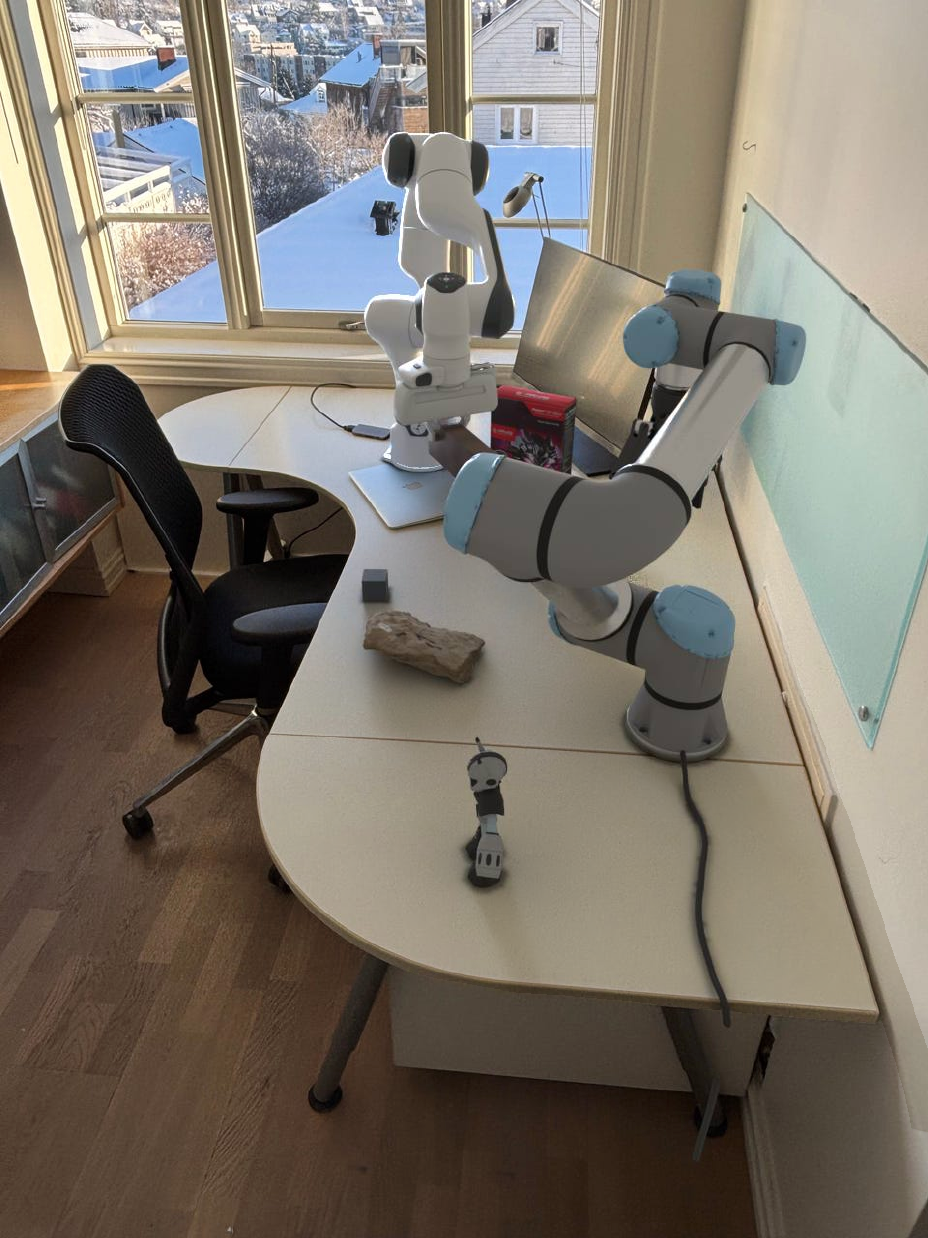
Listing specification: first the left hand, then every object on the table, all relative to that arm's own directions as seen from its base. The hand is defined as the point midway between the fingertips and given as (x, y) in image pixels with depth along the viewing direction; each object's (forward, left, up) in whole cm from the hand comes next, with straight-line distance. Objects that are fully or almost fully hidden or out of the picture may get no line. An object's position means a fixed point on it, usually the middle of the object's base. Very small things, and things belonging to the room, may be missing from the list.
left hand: (446, 438), depth 177 cm
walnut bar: (+9, +5, -4) cm, 11 cm away
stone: (+39, -2, -24) cm, 46 cm away
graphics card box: (-15, +17, -24) cm, 33 cm away
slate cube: (+19, -12, -24) cm, 33 cm away
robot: (+84, +11, -24) cm, 88 cm away
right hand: (+33, +37, +2) cm, 50 cm away
